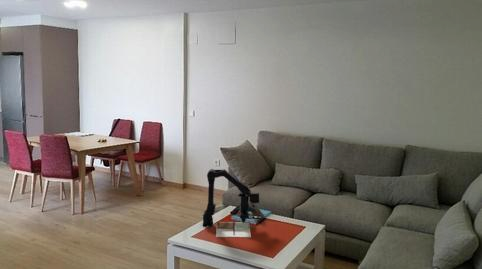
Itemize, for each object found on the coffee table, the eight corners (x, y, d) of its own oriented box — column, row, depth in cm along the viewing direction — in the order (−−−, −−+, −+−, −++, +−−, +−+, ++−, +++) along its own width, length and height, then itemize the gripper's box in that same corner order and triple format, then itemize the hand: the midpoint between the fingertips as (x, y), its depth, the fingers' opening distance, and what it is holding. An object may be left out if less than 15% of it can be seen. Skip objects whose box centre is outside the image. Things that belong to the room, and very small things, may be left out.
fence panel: (235, 228, 266) (235, 222, 266) (235, 227, 267) (235, 221, 267) (249, 228, 267) (249, 222, 266) (249, 227, 268) (249, 221, 267)
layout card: (216, 237, 253) (216, 236, 253) (216, 226, 270) (216, 226, 270) (251, 237, 254) (251, 236, 254) (249, 227, 271) (249, 226, 271)
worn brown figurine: (249, 221, 288) (244, 198, 286) (249, 218, 294) (245, 196, 291) (264, 219, 287) (260, 196, 285) (264, 216, 293) (260, 193, 290)
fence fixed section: (217, 229, 266) (217, 222, 265) (217, 228, 267) (217, 221, 266) (234, 229, 266) (234, 222, 266) (234, 228, 267) (234, 221, 267)
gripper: (256, 207, 261) (255, 229, 263) (255, 198, 279) (254, 219, 281) (240, 206, 260) (239, 228, 263) (239, 198, 279) (239, 218, 281)
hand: (243, 223), depth 272 cm, fingers closed
